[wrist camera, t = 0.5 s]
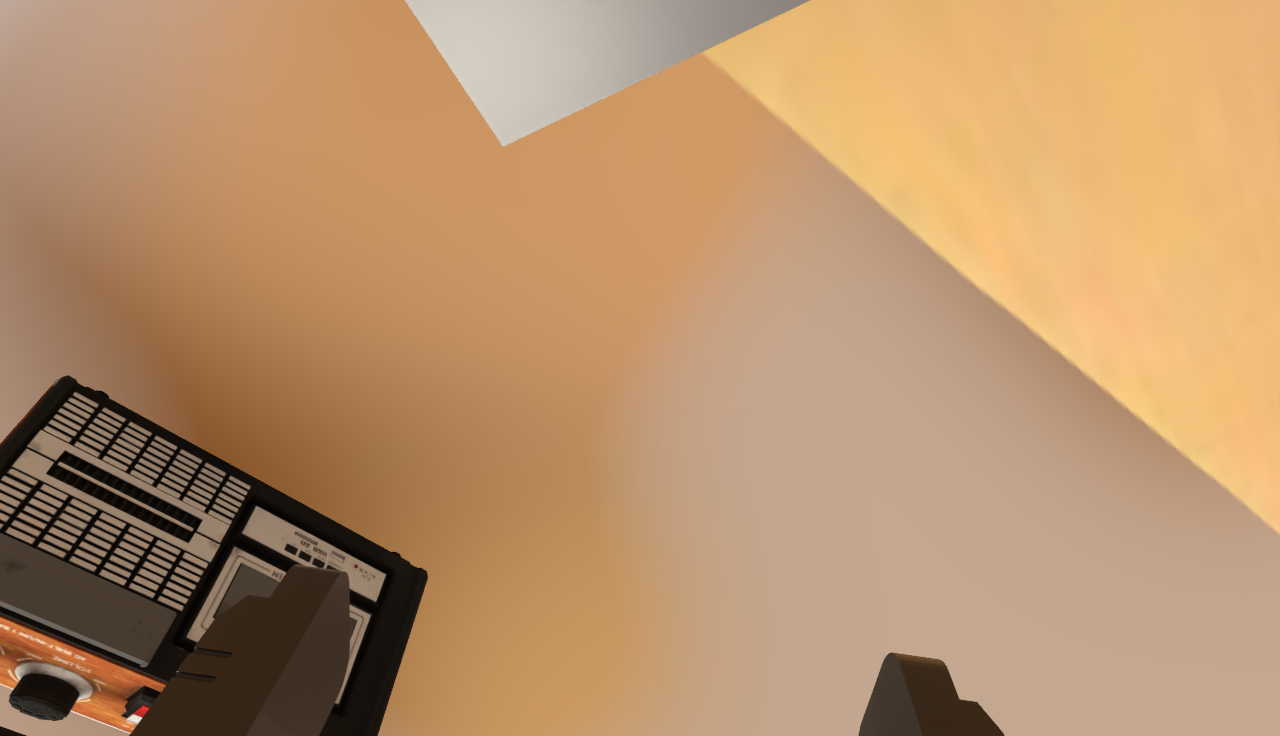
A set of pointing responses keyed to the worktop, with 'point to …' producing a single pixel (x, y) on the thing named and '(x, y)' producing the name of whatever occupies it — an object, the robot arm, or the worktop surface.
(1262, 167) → the worktop surface
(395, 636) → the radio cassette player
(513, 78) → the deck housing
